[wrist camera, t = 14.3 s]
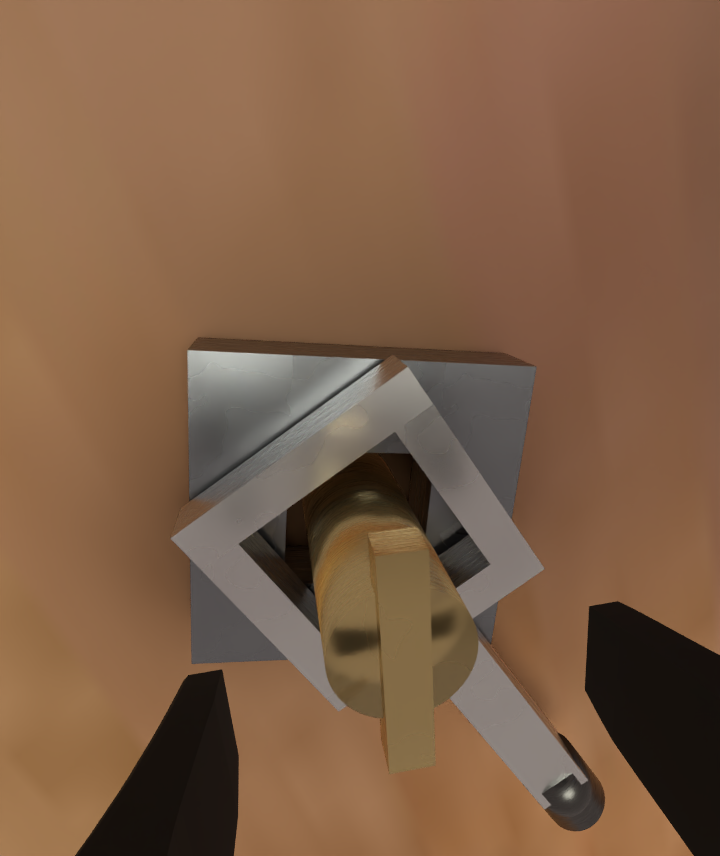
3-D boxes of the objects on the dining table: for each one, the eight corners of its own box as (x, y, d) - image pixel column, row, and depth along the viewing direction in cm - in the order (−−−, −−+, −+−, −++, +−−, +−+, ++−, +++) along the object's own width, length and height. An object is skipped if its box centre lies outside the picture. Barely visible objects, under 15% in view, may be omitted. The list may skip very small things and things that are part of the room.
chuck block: (504, 353, 19) (536, 366, 17) (466, 609, 22) (489, 650, 20) (198, 337, 17) (187, 350, 15) (200, 617, 20) (191, 663, 18)
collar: (640, 718, 22) (679, 767, 19) (481, 824, 22) (503, 884, 20) (391, 352, 16) (409, 368, 14) (181, 504, 16) (168, 542, 14)
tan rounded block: (388, 411, 19) (485, 541, 11) (395, 548, 21) (484, 755, 12) (293, 421, 19) (315, 565, 10) (308, 560, 20) (337, 783, 12)
